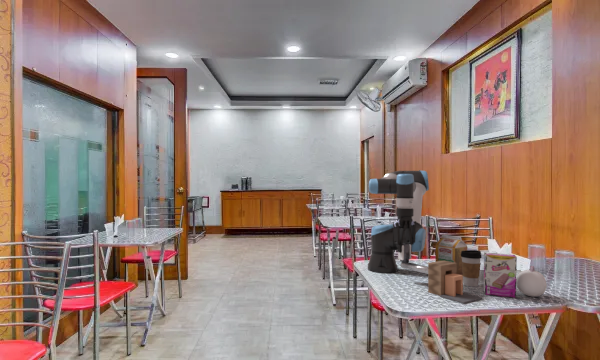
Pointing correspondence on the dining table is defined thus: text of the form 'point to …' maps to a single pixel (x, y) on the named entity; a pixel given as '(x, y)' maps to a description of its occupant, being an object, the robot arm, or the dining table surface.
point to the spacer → (453, 284)
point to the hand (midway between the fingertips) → (404, 258)
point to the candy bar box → (500, 274)
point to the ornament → (531, 282)
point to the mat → (462, 298)
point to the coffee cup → (471, 267)
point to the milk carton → (450, 250)
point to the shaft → (411, 266)
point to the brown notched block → (439, 275)
